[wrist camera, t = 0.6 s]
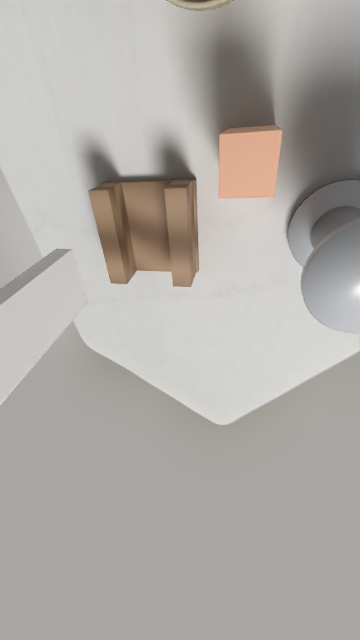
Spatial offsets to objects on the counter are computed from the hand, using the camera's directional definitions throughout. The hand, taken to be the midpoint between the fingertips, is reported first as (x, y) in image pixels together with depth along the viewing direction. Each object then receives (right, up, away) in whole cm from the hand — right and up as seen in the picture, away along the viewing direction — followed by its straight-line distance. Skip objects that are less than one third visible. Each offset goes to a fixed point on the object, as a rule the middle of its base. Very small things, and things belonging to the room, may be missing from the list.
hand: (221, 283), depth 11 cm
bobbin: (+14, +8, +16) cm, 23 cm away
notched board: (-5, +9, +20) cm, 22 cm away
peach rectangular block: (+5, +14, +14) cm, 20 cm away
